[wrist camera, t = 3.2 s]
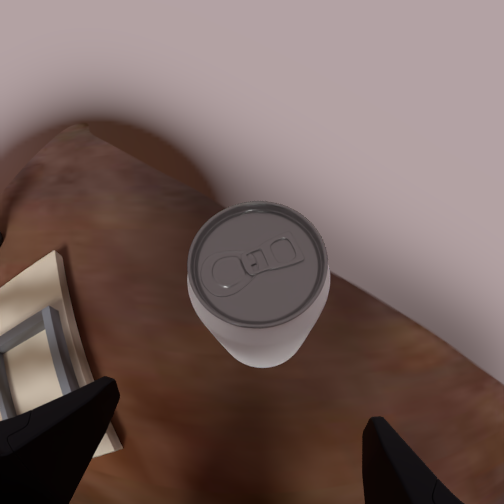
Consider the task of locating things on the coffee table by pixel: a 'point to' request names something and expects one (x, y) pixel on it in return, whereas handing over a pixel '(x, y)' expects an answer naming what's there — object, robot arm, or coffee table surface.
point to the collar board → (41, 343)
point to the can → (258, 280)
